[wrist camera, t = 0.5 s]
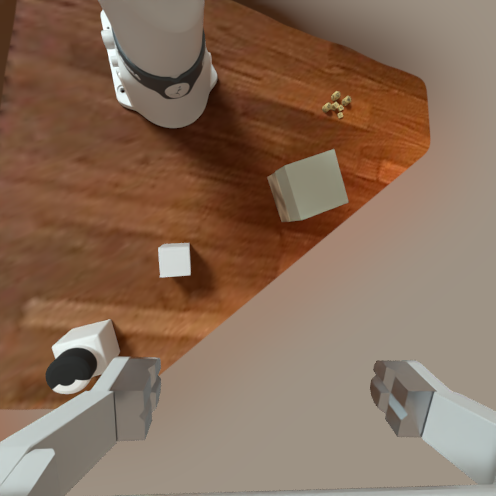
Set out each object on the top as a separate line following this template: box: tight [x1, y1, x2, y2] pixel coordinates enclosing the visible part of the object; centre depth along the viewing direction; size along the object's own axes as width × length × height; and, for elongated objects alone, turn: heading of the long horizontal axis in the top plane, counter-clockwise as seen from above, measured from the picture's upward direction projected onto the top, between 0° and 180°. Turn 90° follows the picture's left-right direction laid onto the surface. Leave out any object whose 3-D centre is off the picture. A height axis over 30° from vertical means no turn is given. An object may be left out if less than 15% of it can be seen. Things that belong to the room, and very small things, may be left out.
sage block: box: [275, 149, 348, 221], centre depth 47 cm, size 10×10×5 cm
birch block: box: [267, 173, 291, 222], centre depth 52 cm, size 10×10×5 cm
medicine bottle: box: [46, 319, 120, 394], centre depth 42 cm, size 7×7×12 cm
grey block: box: [158, 243, 191, 277], centre depth 46 cm, size 5×5×8 cm
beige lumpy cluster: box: [322, 91, 351, 118], centre depth 54 cm, size 5×5×2 cm
